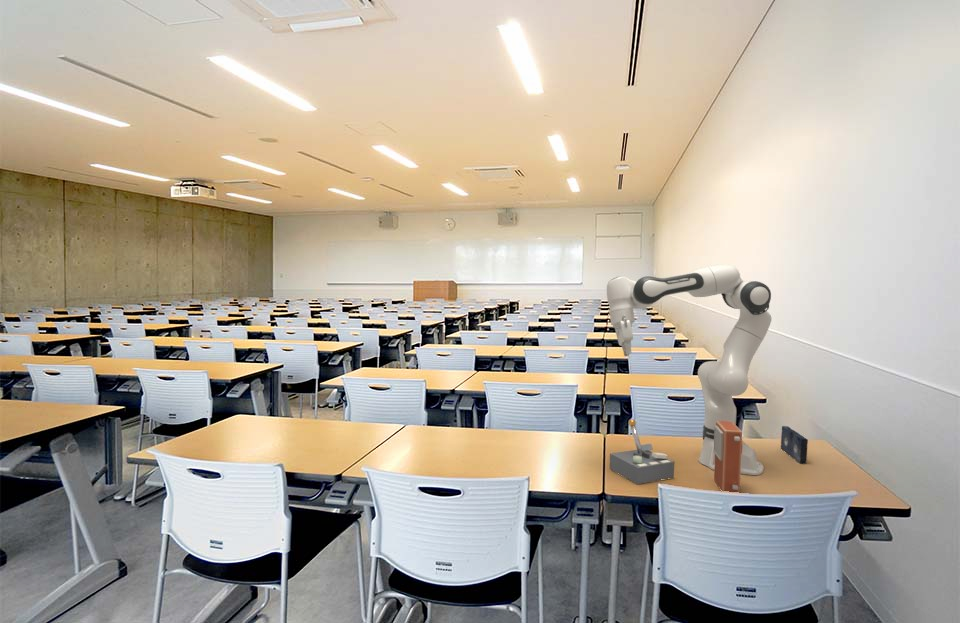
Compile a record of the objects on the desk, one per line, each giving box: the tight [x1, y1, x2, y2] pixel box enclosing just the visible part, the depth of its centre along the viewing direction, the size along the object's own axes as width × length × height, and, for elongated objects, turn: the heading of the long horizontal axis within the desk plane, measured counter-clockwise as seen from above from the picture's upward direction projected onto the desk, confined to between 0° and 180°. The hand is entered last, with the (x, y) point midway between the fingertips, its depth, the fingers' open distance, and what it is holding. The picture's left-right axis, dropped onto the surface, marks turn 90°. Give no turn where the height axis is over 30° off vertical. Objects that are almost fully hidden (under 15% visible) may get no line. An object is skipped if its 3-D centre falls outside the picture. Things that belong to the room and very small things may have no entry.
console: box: [609, 449, 675, 485], centre depth 195 cm, size 16×16×8 cm
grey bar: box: [641, 443, 654, 451], centre depth 201 cm, size 1×6×2 cm, turn 112°
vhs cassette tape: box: [780, 425, 809, 465], centre depth 215 cm, size 18×3×10 cm, turn 170°
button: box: [633, 455, 642, 464], centre depth 189 cm, size 3×3×2 cm
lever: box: [628, 419, 643, 454], centre depth 197 cm, size 3×3×13 cm
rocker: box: [652, 452, 669, 459], centre depth 193 cm, size 3×5×1 cm, turn 112°
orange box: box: [713, 421, 743, 492], centre depth 183 cm, size 21×7×15 cm
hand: (627, 355), depth 200 cm, fingers open, 8 cm apart
